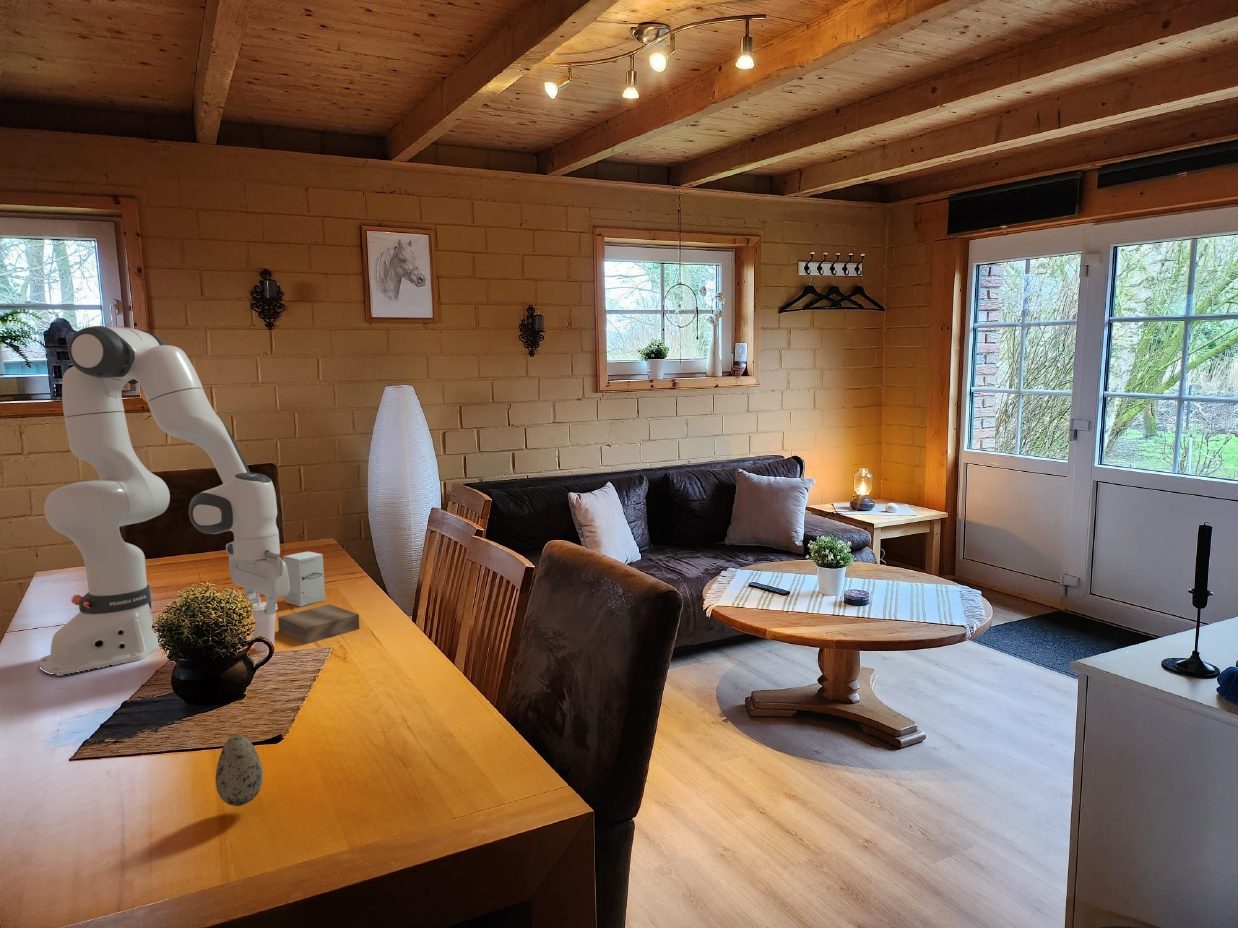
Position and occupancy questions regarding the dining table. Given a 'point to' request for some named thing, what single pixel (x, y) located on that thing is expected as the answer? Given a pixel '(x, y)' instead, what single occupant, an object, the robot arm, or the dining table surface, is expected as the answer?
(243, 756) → the decorative egg
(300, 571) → the supplement box
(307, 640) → the walnut block
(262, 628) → the smoothie
